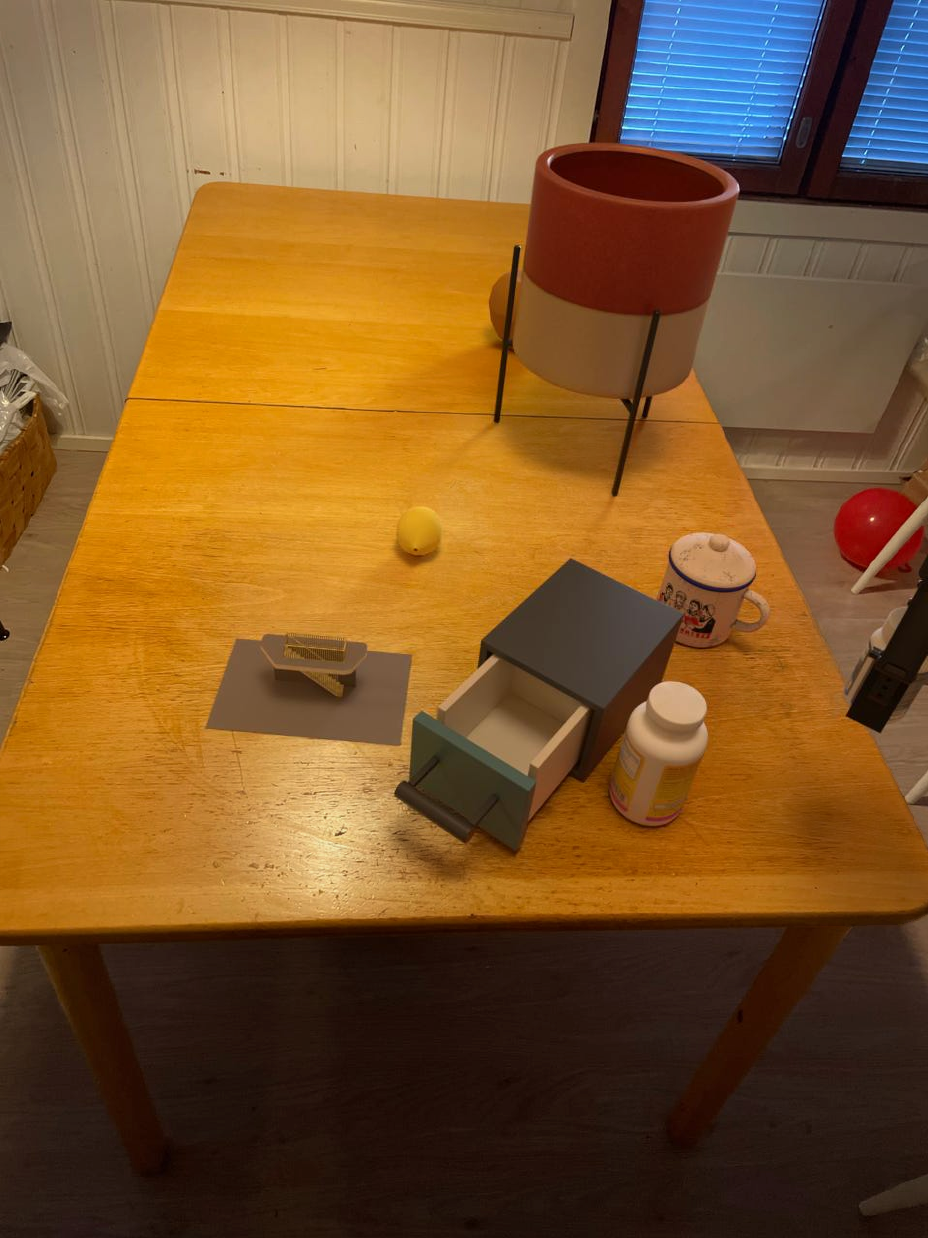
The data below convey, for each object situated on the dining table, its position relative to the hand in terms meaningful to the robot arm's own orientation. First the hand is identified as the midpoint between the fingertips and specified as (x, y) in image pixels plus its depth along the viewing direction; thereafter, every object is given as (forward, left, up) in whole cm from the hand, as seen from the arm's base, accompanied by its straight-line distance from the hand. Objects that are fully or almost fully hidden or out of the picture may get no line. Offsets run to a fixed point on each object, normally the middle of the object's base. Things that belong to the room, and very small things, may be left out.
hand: (875, 701), depth 68 cm
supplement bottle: (+13, +7, -16) cm, 22 cm away
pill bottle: (0, 0, -1) cm, 1 cm away
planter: (+47, -42, -16) cm, 65 cm away
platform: (+44, +17, -16) cm, 50 cm away
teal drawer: (+24, +15, -15) cm, 32 cm away
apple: (+71, -62, -16) cm, 96 cm away
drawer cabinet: (+24, +2, -16) cm, 29 cm away
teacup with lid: (+18, -17, -16) cm, 30 cm away
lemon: (+50, -7, -16) cm, 53 cm away
